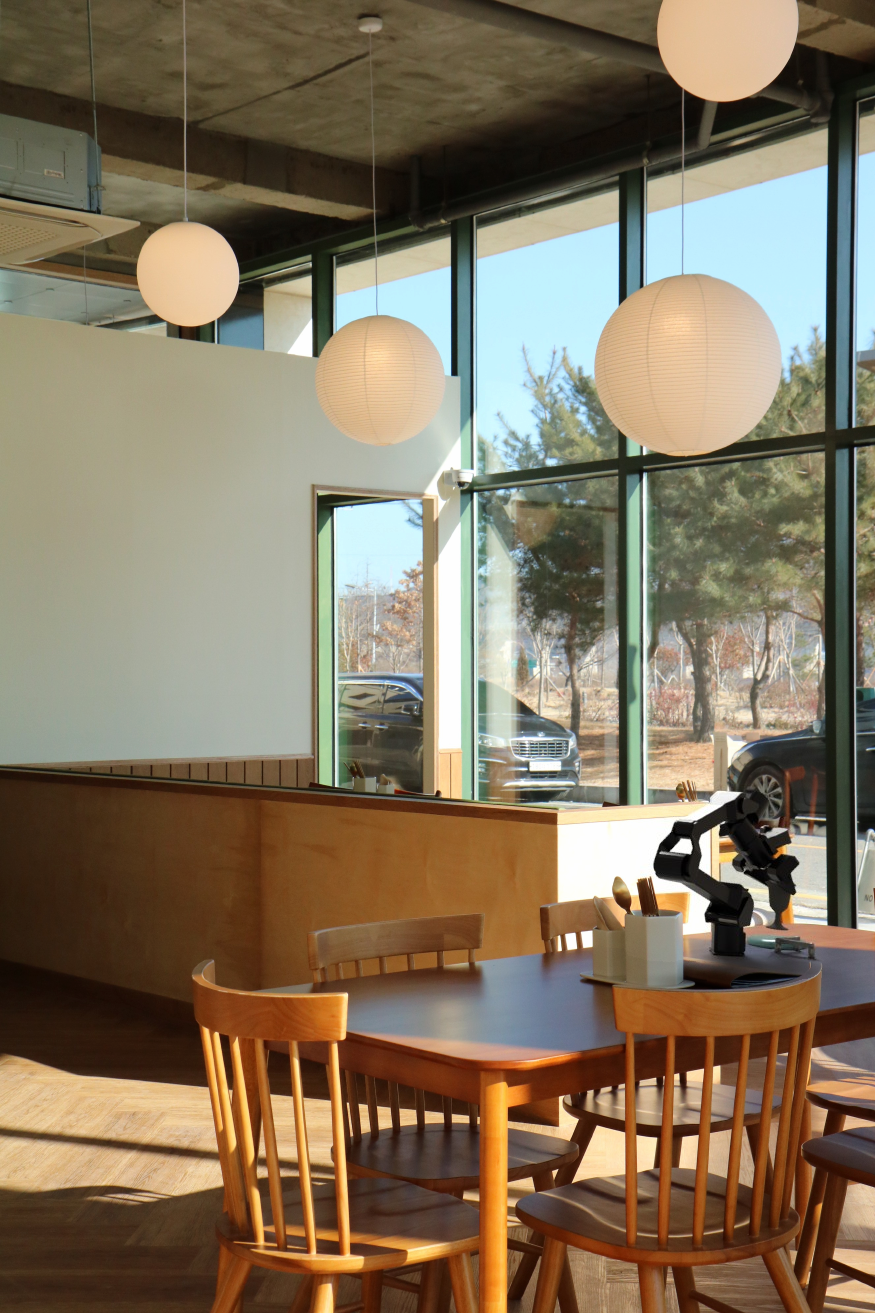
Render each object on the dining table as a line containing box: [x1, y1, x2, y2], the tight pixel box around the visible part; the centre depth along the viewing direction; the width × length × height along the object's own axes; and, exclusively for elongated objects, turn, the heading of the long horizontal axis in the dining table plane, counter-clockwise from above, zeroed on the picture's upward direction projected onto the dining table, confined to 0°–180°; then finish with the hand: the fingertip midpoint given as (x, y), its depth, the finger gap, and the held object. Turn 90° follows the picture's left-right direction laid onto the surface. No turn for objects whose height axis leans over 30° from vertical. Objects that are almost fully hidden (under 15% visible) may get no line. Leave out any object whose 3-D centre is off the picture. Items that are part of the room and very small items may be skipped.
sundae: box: [765, 880, 797, 931], centre depth 293 cm, size 7×7×15 cm
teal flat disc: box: [746, 934, 806, 950], centre depth 301 cm, size 13×13×1 cm
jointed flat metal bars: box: [774, 935, 816, 959], centre depth 289 cm, size 7×10×3 cm
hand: (785, 891), depth 293 cm, fingers closed on sundae, 7 cm apart
